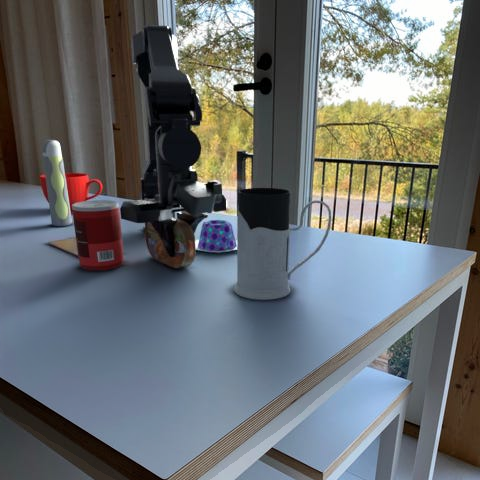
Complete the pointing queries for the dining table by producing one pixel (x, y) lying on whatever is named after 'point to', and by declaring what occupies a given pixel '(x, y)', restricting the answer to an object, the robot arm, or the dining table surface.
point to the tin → (182, 242)
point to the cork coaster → (66, 245)
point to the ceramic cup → (74, 187)
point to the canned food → (98, 234)
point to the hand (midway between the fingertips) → (178, 255)
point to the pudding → (216, 237)
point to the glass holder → (266, 242)
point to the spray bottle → (56, 183)
